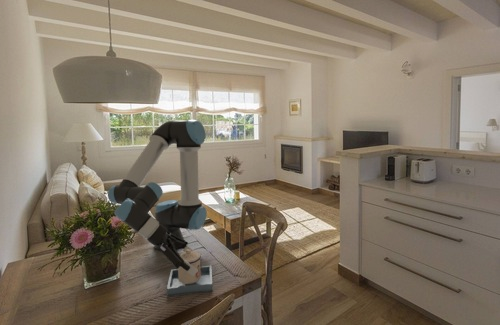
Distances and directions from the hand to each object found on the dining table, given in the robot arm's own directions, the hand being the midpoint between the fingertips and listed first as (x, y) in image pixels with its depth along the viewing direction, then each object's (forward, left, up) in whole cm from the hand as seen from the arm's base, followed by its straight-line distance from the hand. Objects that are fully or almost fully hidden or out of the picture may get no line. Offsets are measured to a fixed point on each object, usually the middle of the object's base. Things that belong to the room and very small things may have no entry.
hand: (196, 264), depth 109 cm
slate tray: (0, -2, -8) cm, 8 cm away
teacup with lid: (0, -3, -5) cm, 5 cm away
